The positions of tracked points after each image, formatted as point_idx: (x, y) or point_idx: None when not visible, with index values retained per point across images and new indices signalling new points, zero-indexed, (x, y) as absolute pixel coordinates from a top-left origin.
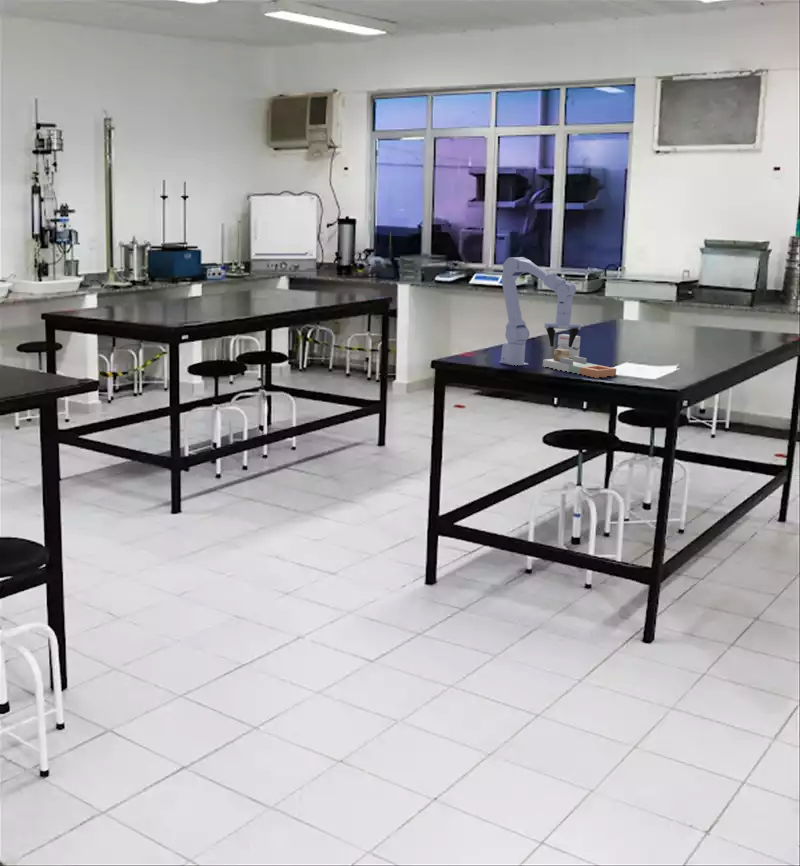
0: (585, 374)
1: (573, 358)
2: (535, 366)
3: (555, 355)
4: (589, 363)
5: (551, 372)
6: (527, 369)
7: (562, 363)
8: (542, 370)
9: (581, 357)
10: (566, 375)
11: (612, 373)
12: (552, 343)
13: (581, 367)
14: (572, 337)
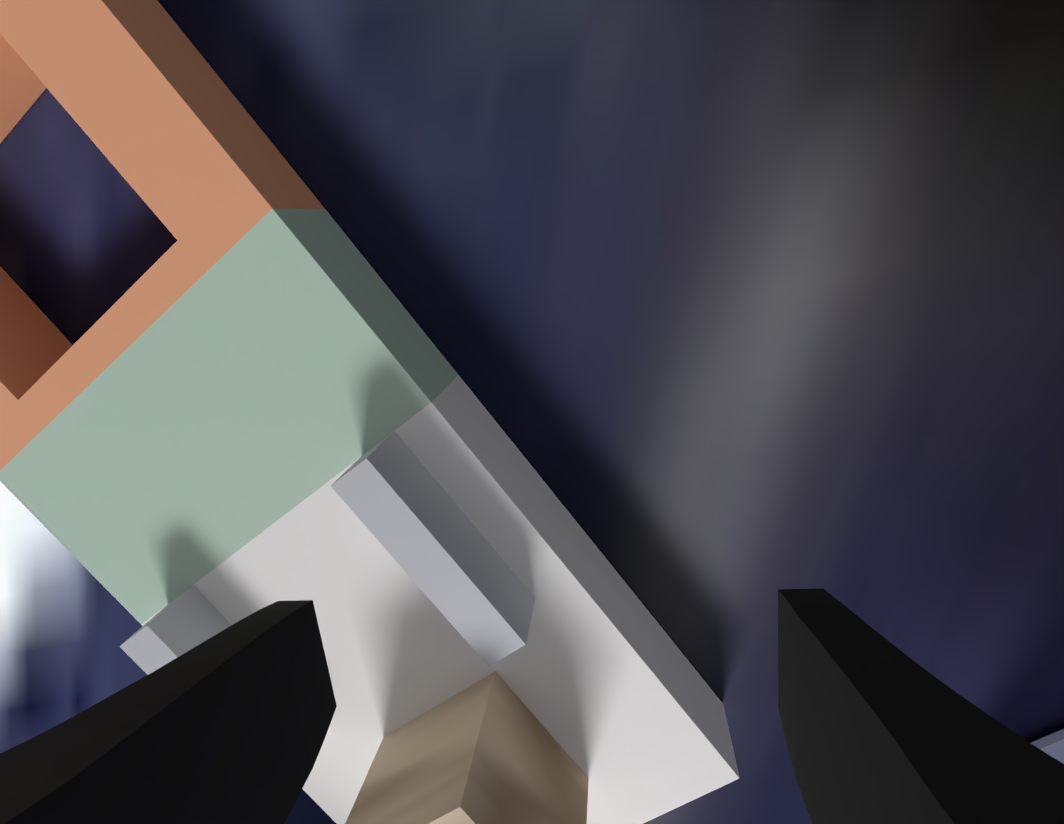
0: (245, 121)
1: None
2: None
3: (564, 817)
4: (127, 591)
5: (711, 309)
6: (1021, 489)
7: (512, 518)
8: (804, 451)
9: None
10: (533, 83)
11: None
12: (847, 623)
13: (256, 190)
14: (62, 771)
